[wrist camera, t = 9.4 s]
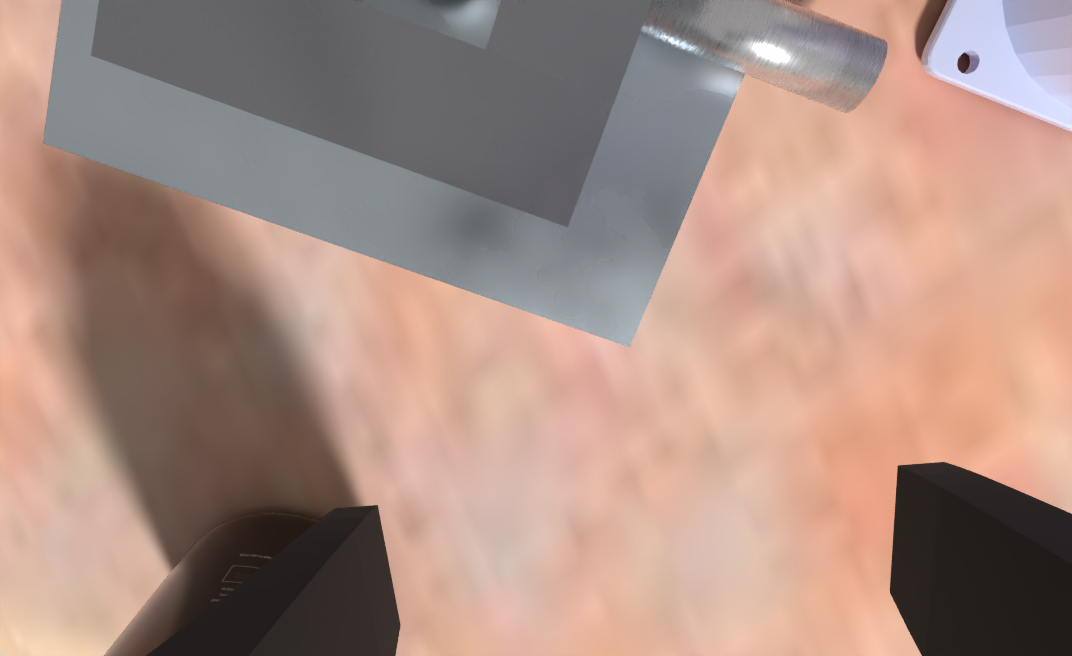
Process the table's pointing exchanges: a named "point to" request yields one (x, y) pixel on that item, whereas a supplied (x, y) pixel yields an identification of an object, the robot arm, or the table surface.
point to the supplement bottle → (208, 577)
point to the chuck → (447, 124)
